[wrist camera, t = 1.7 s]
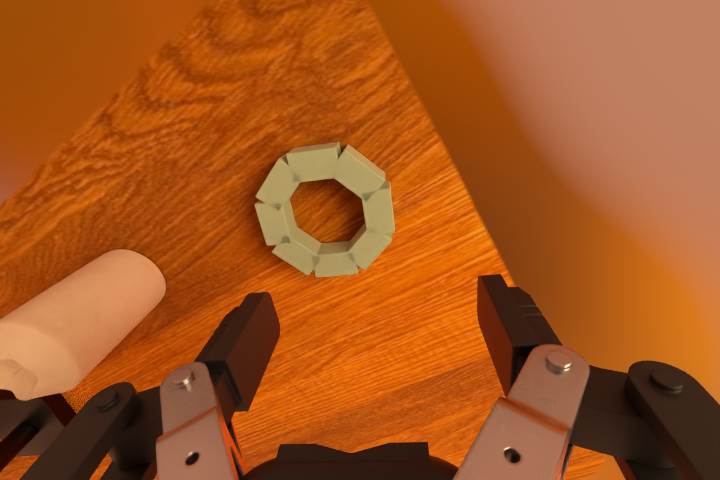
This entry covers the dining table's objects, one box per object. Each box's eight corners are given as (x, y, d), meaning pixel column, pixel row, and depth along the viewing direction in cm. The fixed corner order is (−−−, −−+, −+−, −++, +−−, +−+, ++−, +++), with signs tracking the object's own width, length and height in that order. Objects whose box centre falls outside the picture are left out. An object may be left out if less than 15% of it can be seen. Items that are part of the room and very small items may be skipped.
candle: (180, 298, 27) (78, 408, 18) (125, 311, 28) (4, 420, 19) (142, 240, 25) (5, 334, 16) (84, 256, 26) (-75, 352, 17)
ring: (251, 153, 21) (240, 160, 20) (384, 134, 20) (384, 140, 19) (284, 268, 25) (277, 281, 23) (398, 257, 24) (399, 270, 22)
